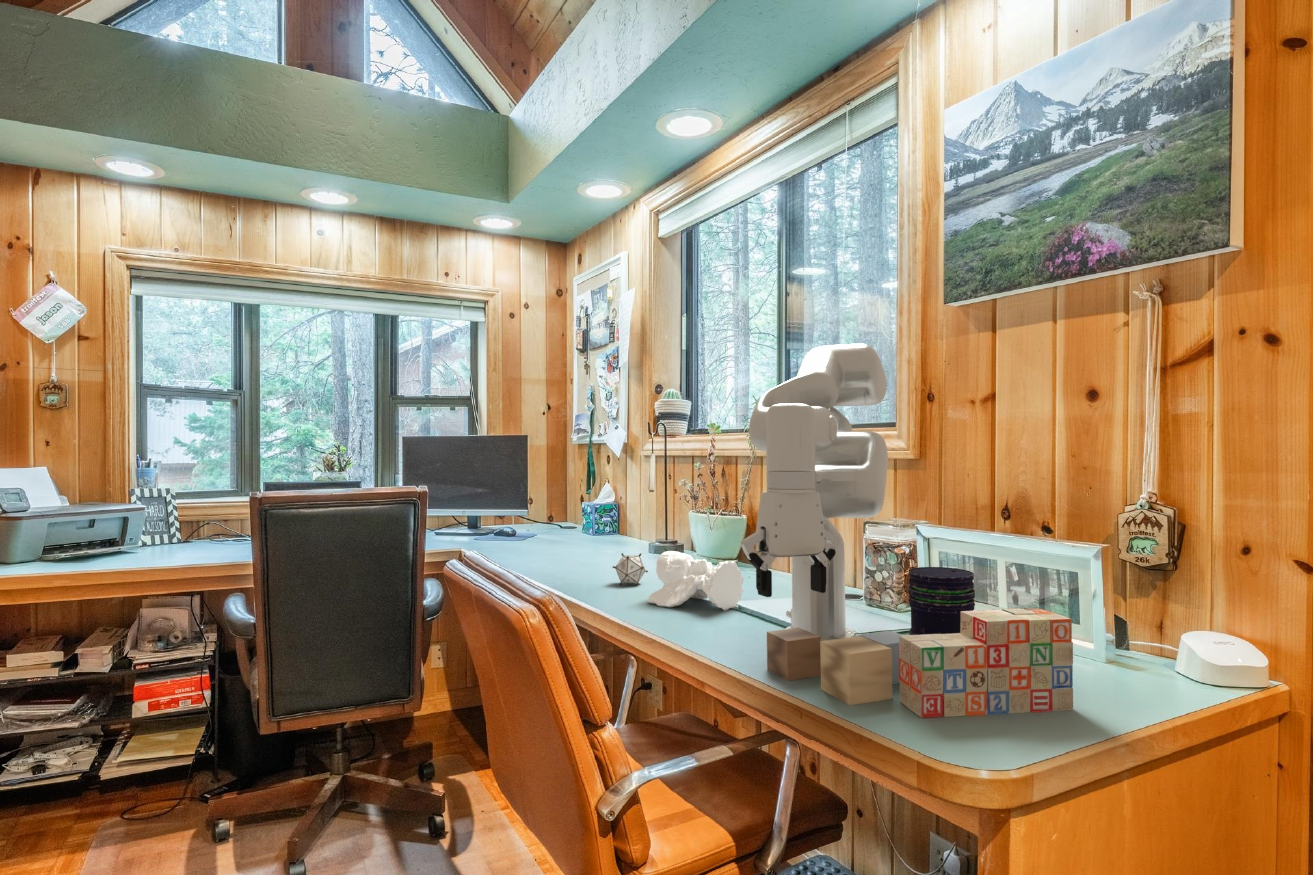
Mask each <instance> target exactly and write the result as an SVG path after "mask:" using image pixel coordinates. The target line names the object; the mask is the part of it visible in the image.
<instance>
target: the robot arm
mask: <svg viewBox="0 0 1313 875" xmlns="http://www.w3.org/2000/svg"><path fill="white" fill-rule="evenodd" d="M887 384H888V383H887V377H886V372H885V370H884V366H883V364H882V361H881V359H880V355H878V353H877V351H876V350H875V349H874V348H873V347H872V346H871V345H868V344H865V343H849V344H848V343H847V344H833V345H832V344H831V345H822V346H818V347H817V346H816V347H815V348H813V349H811V350H810V351H808V352H807V353H806V354H805V356H804V358H803V360H802V362H801V364H800V367H799V369H798V371H797V374H796V376H795V377H793V378H790V379H789V380H788V379H787V381H785V382H783V383H781V384H779V385H776V386H774V387H773V388H770V389H769V390H768V391H766V392H765V393H763V394H762V395H761V396H760V397H759V399H758V401H757V403H756V404H755V407H754V409H753V411H752V413H751V416H750V419H749V425H748V435H749V439H750V442H751V444H752V445H753V447H755V449H757V450H758V451H759V452H760V451H761V452H766V491H762V492H761V493H760V499H759V503H758V504H759V505H758V509H757V510H758V511H757V516H756V517H757V518H756V519H757V520H756V529H755V532H754V533H752V534H750V535H748V536H747V537H744V539H743V540H741V541H740V542H739V543H740V547H741V549H742V551H743V553H744V554H745V558H746V560H747V561H748V562H749V563H750V564H751V565H752V567H753V568H754V569H755V587H756V590H757V594H758V596H762V597H766V598H771V597H772V596H773V581H772V580H773V577H772V575H773V572H772V570H770V569H769V568H770V567H771V566H772V563H773V562H774V561H775V559H776V558H791V608H790V609H788V610H787V611H786V612H785V616H786V617H787V618H790V625H789V626H787V627H786V628H784V630H785V629H793V628H801V629H803V630H806V631H808V632H811V633H813V634H815V635H818V636H820V637H821V641H826V640H834V639H843V638H851V637H856V634H855V632H854V631H853V630H852V629H850V628H848V627H846V626H847V625H846V578H845V577H846V573H845V572H846V571H845V570H846V568H845V567H846V566H845V542H844V539H843V537H842V535H841V533H840V532H839V530H838V529H837V528H836V527H835V525H834V524H833V523H832V521H831V520H830V519H836V518H837V519H838V518H840V519H841V518H843V519H844V518H845V519H869V518H874V517H876V516H878V515H879V514H880V513H881V511H882V509H883V506H884V503H885V495H886V486H887V476H888V466H889V453H888V452H889V451H888V447H887V444H886V441H885V439H884V437H883V436H882V435H881V434H879V433H877V432H875V431H871V430H870V431H868V430H867V431H866V430H860V431H859V430H858V431H855V430H853V427H852V424H851V422H850V420H849V419H848V418H847V417H846V416H845V415H844V414H843V413H842V412H841V411H840V410H838V409H837V408H835V407H856V406H857V407H858V406H859V407H861V406H873V405H874V406H875V405H878V404H881V403H882V402H883V401H884V398H885V396H886V394H887ZM754 547H756V548H754ZM758 553H759V554H758ZM848 632H851V633H848Z"/></svg>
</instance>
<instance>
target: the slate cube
mask: <svg viewBox="0 0 1313 875" xmlns="http://www.w3.org/2000/svg"><path fill="white" fill-rule="evenodd" d="M901 635H902V634H901V633H899V632H895V631H892V630H884V631H878V632H872V633H871V632H870V633H864V634H859V635H858V637H859V636H861V637H864V638H866V639H869V640H871V641H874V642H876V643H879V644H882V645H884V646H887V647H889V648H892V685H894V684H900V683H899V681H900V679H899V658H900V656H899V636H901Z"/></svg>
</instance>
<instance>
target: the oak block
mask: <svg viewBox="0 0 1313 875" xmlns="http://www.w3.org/2000/svg"><path fill="white" fill-rule="evenodd" d="M820 657H821V676H820V690H822V691H824V692H825V693H828V695H830V696H832V697H835V698H836V699H838V700H840V701H841V702H843V703H845V704H847V705H848V706H854V705H861V704H867V703H872V702H873V703H874V702H880V701H884V700H891V699H893V684H892V648H889V647H887V646H884V645H882V644H879V643H876V642H874V641H871V640H869V639H866V638H864V637H861V636H859V635H858V636H855V637H851V638H843V639H834V640H826V641H820Z"/></svg>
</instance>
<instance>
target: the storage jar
mask: <svg viewBox="0 0 1313 875" xmlns="http://www.w3.org/2000/svg"><path fill="white" fill-rule="evenodd" d="M908 577H909V579H908V587H907V588H908V590H907V591H908V600H907V601H908V604H909V606H910V628H909V634H908V635H924V634H953V633H960V628H961V611H975V606H976V603H975V598H976V597H975V596H976V593H975V592H976V591H975V582H974V579H975V575H974V572H973V571H971V570H970V571H969V570H967V569H961V568H955V567H944V566H943V567H942V566H919V567H913V568H910V569H908Z"/></svg>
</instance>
